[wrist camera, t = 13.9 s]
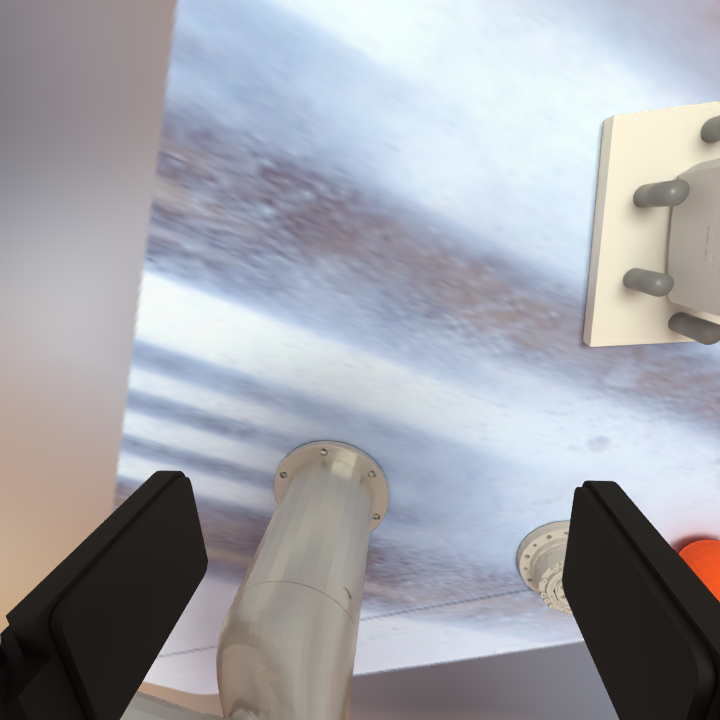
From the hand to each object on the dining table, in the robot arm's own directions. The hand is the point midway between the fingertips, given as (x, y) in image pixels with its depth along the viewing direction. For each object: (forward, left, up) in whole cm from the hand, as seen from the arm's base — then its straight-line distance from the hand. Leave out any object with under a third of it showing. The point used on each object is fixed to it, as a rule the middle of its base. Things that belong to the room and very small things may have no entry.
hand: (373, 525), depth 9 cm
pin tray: (+4, -22, -27) cm, 35 cm away
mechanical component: (-29, -16, -28) cm, 43 cm away
